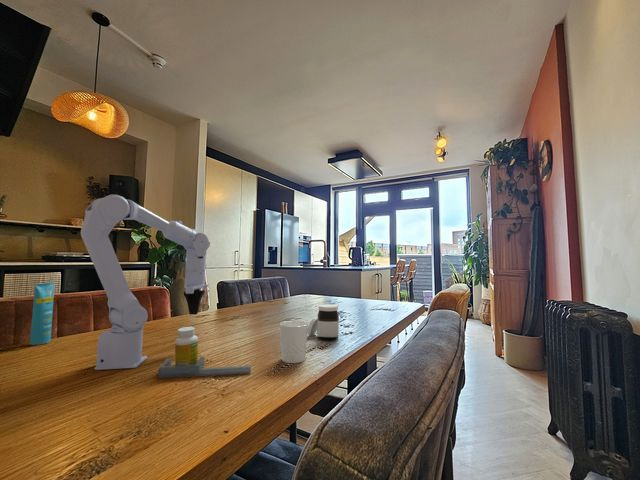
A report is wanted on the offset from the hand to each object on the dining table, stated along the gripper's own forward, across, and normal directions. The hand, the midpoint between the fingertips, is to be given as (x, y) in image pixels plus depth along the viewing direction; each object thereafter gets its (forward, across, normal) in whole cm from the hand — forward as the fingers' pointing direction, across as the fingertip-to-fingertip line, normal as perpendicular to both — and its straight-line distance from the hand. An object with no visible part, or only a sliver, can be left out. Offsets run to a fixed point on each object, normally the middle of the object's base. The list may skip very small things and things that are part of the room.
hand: (193, 314), depth 93 cm
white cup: (+11, -15, -30) cm, 35 cm away
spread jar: (+11, +6, -43) cm, 45 cm away
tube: (+11, +12, +48) cm, 51 cm away
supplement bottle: (+10, -17, -2) cm, 20 cm away
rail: (+10, -20, -8) cm, 24 cm away
